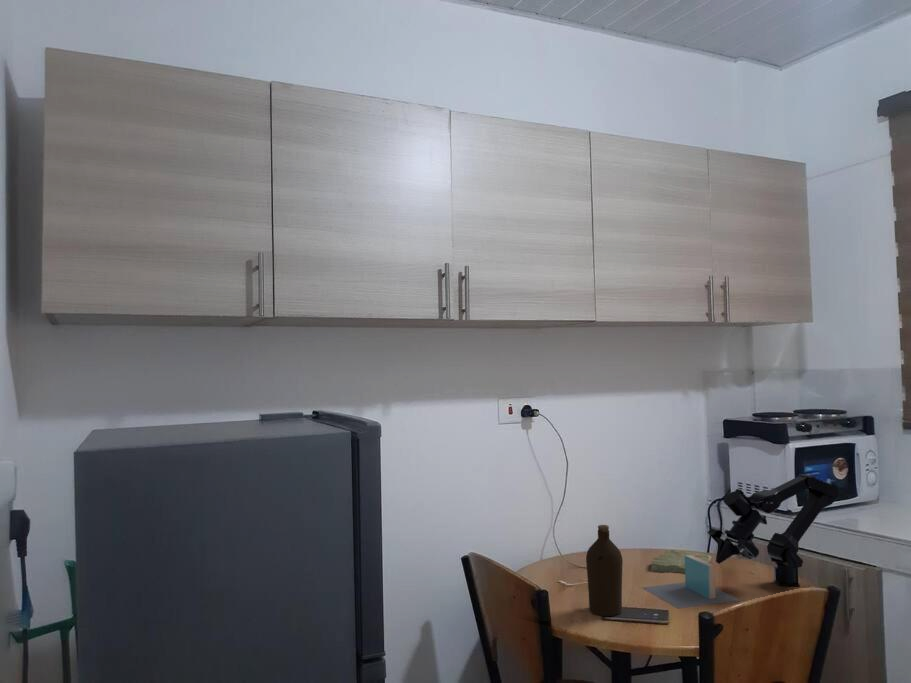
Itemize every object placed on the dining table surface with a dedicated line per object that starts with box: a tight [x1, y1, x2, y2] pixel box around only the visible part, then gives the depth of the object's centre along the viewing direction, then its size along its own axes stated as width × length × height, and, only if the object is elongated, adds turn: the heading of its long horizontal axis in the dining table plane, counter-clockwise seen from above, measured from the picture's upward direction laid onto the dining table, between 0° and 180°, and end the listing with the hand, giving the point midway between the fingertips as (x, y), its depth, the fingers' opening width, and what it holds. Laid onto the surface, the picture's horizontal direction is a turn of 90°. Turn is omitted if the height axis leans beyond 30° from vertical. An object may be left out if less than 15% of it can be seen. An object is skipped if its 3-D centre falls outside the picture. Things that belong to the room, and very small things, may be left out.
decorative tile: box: [650, 549, 713, 574], centre depth 245 cm, size 19×20×4 cm
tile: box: [684, 555, 716, 599], centre depth 215 cm, size 2×12×10 cm, turn 16°
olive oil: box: [585, 524, 624, 617], centre depth 202 cm, size 11×11×25 cm
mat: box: [641, 582, 740, 609], centre depth 214 cm, size 22×20×1 cm
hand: (717, 562), depth 217 cm, fingers closed
